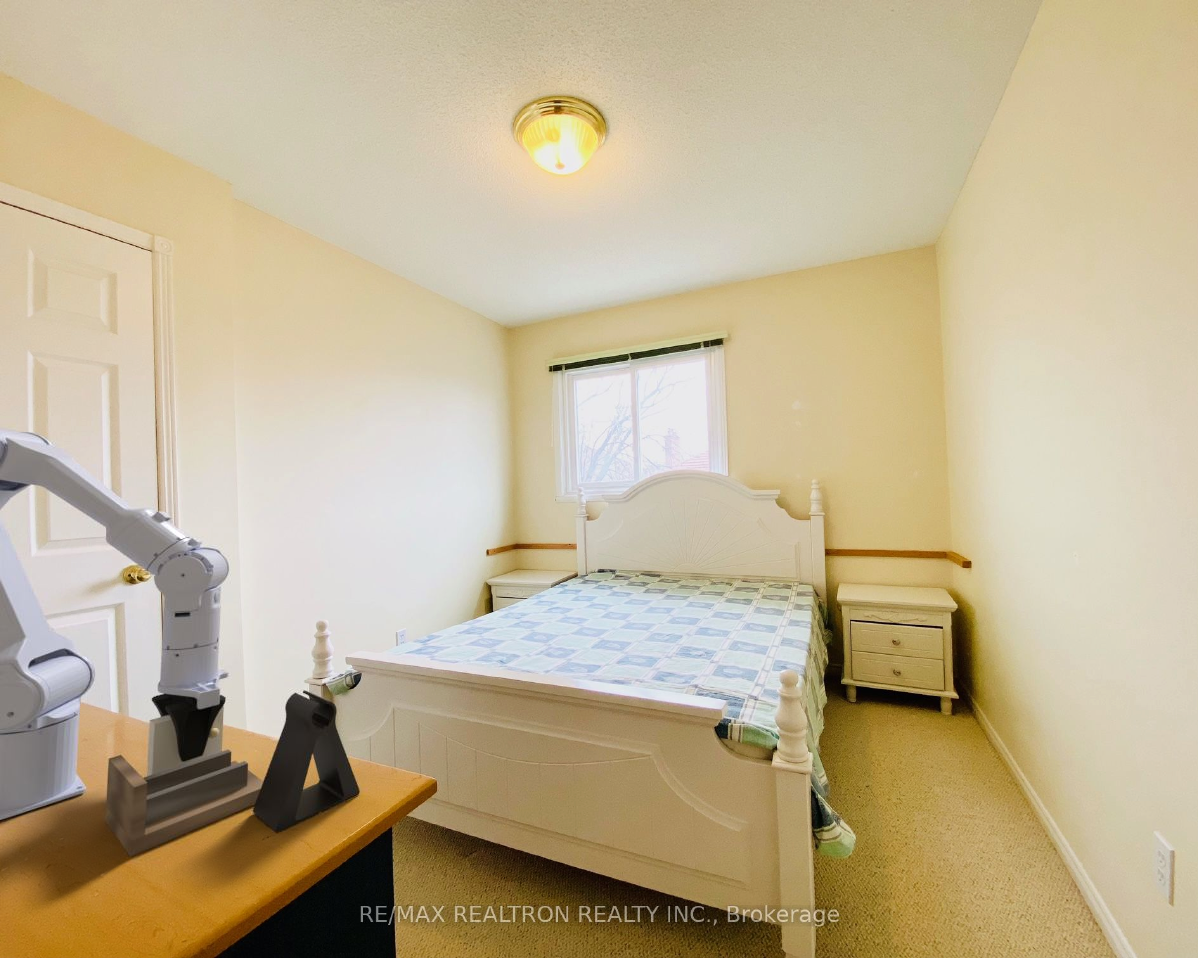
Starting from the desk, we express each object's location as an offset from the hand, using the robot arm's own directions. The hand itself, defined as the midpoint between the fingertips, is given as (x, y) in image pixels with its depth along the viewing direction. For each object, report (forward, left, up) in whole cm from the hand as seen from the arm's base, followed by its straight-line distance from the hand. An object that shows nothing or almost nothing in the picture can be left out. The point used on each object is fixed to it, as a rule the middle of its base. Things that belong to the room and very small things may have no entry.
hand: (186, 753), depth 63 cm
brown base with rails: (+9, -2, -3) cm, 10 cm away
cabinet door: (0, 0, -3) cm, 3 cm away
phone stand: (+19, +6, -3) cm, 20 cm away
